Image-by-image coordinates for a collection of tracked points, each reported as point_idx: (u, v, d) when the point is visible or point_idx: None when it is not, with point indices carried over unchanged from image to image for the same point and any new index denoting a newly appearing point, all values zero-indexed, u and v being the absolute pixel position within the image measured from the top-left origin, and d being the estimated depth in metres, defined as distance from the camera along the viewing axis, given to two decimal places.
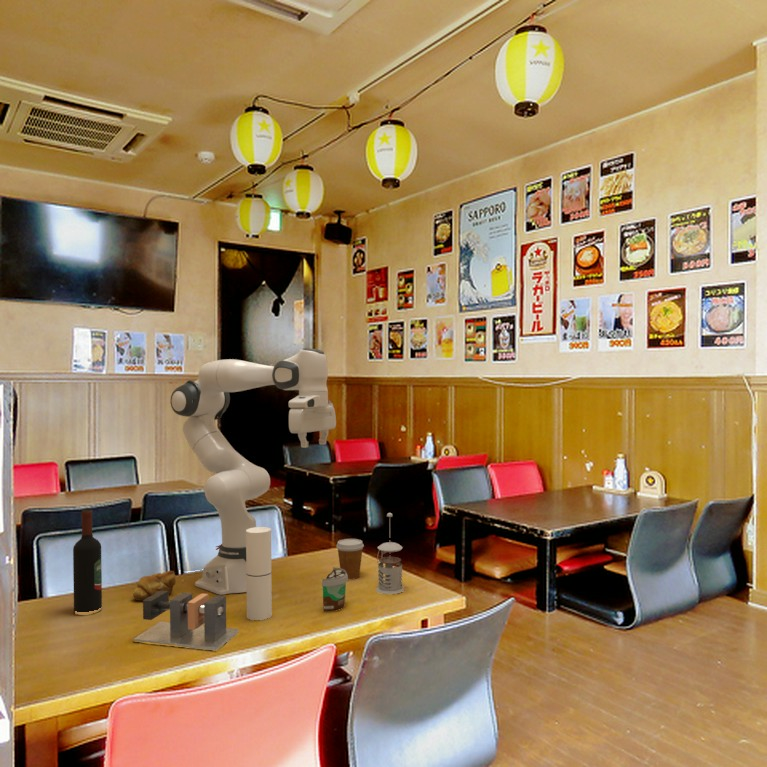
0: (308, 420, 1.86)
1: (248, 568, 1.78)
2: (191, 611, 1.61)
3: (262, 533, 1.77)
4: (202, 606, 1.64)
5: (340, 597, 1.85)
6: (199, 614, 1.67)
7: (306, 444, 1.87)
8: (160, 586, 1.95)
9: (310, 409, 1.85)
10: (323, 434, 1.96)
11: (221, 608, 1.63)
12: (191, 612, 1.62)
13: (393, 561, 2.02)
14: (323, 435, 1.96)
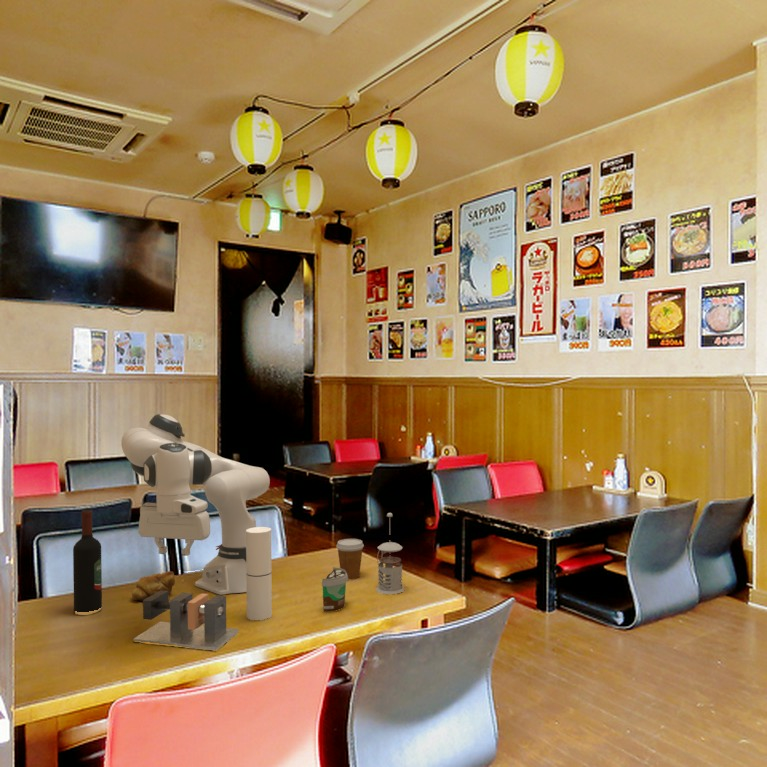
0: None
1: (248, 568, 1.78)
2: (191, 611, 1.61)
3: (262, 533, 1.77)
4: (202, 606, 1.64)
5: (340, 597, 1.85)
6: (199, 614, 1.67)
7: None
8: (159, 586, 1.95)
9: None
10: (159, 542, 1.71)
11: (221, 608, 1.63)
12: (191, 612, 1.62)
13: (393, 561, 2.02)
14: (160, 543, 1.71)
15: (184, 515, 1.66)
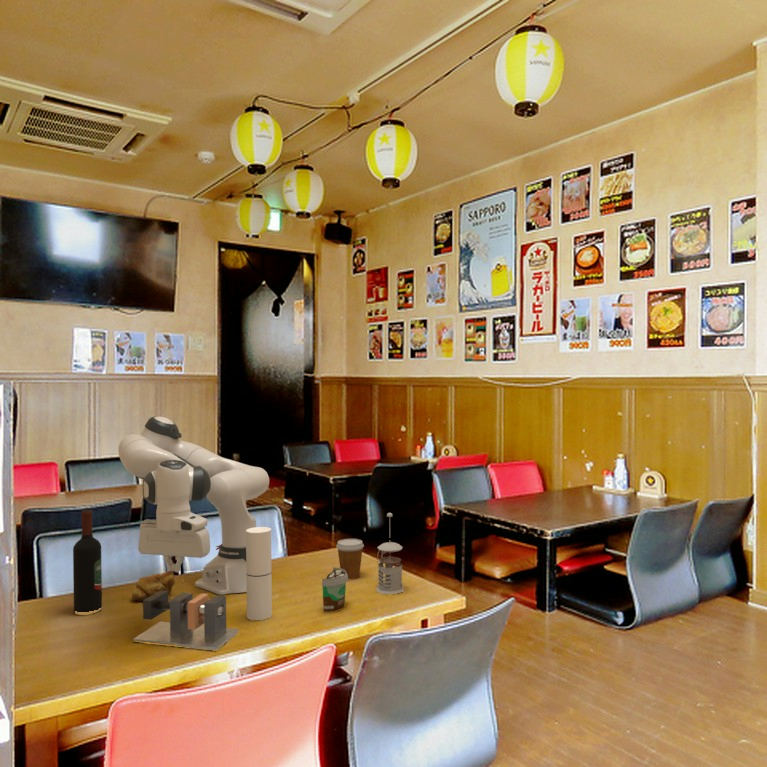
0: None
1: (248, 568, 1.78)
2: (191, 611, 1.61)
3: (262, 533, 1.77)
4: (202, 606, 1.64)
5: (340, 597, 1.85)
6: (199, 614, 1.67)
7: None
8: (159, 586, 1.95)
9: None
10: (168, 560, 1.70)
11: (221, 608, 1.63)
12: (191, 612, 1.62)
13: (393, 561, 2.02)
14: (169, 561, 1.70)
15: (184, 532, 1.66)
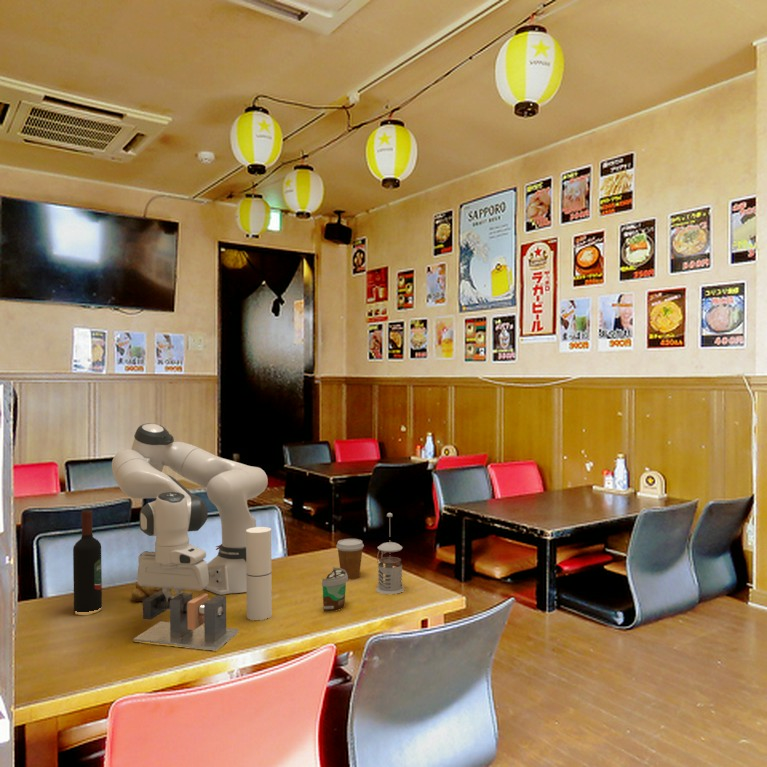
0: None
1: (248, 568, 1.78)
2: (191, 611, 1.61)
3: (262, 533, 1.77)
4: (202, 606, 1.64)
5: (340, 597, 1.85)
6: (199, 614, 1.67)
7: None
8: (158, 587, 1.94)
9: None
10: (167, 592, 1.70)
11: (221, 608, 1.63)
12: (190, 612, 1.62)
13: (393, 561, 2.02)
14: (168, 593, 1.70)
15: (182, 565, 1.66)
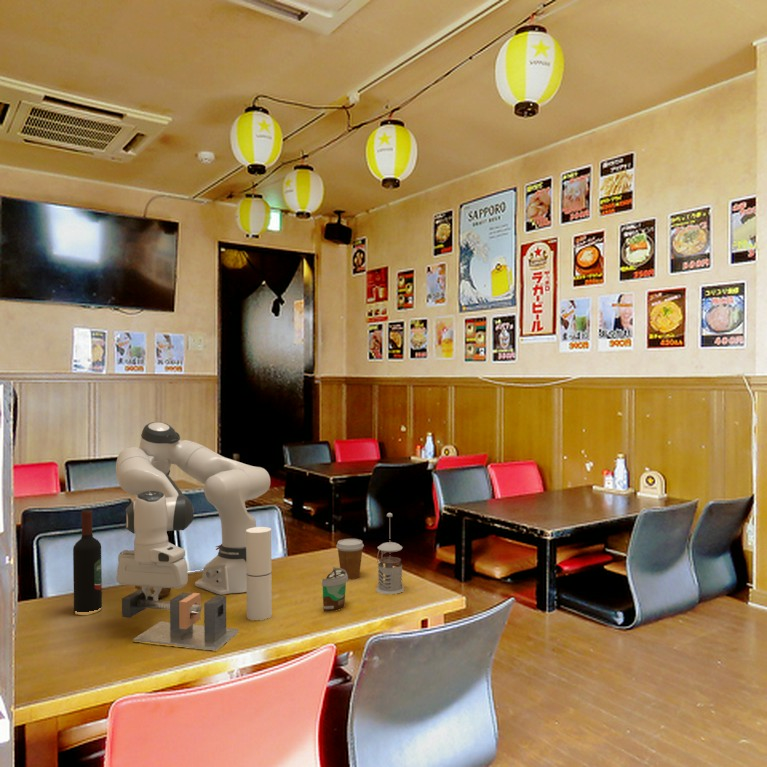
0: None
1: (248, 568, 1.78)
2: (183, 611, 1.62)
3: (262, 533, 1.77)
4: None
5: (340, 597, 1.85)
6: (191, 613, 1.67)
7: None
8: None
9: None
10: (147, 590, 1.72)
11: (199, 606, 1.65)
12: (182, 611, 1.62)
13: (393, 561, 2.02)
14: (147, 591, 1.72)
15: (161, 564, 1.68)
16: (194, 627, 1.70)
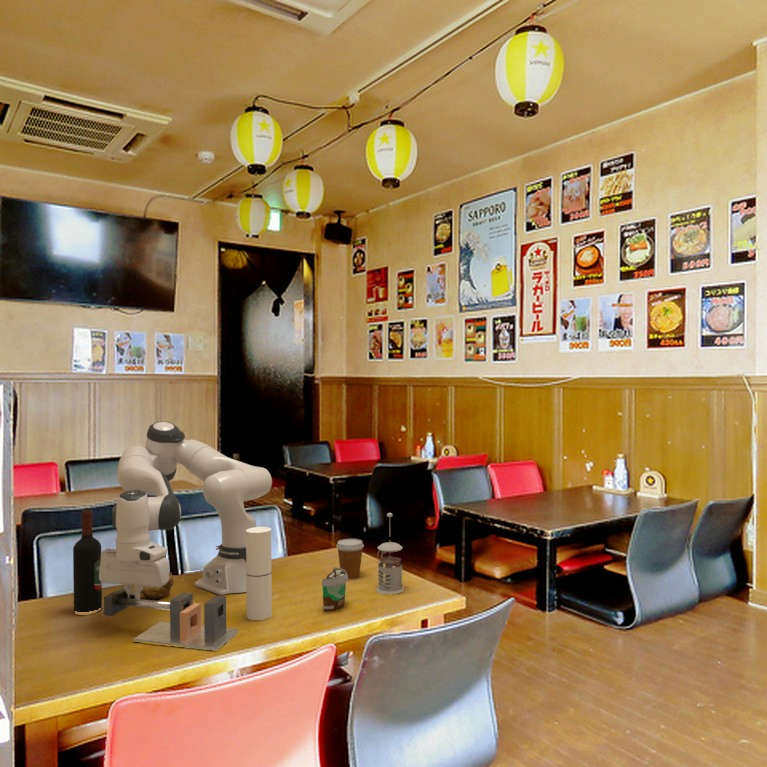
0: None
1: (248, 568, 1.78)
2: (183, 621, 1.62)
3: (262, 533, 1.77)
4: (162, 602, 1.67)
5: (340, 597, 1.85)
6: (191, 624, 1.67)
7: None
8: (157, 587, 1.94)
9: None
10: (129, 588, 1.73)
11: None
12: (183, 622, 1.62)
13: (393, 561, 2.02)
14: (129, 589, 1.73)
15: (143, 562, 1.69)
16: None
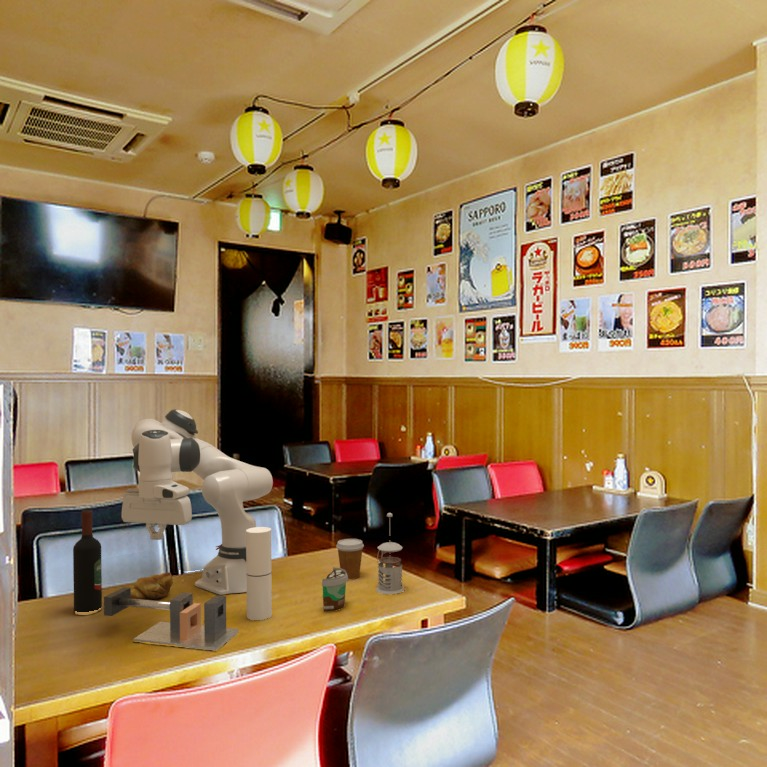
0: None
1: (248, 568, 1.78)
2: (183, 621, 1.62)
3: (262, 533, 1.77)
4: (162, 602, 1.67)
5: (340, 597, 1.85)
6: (191, 624, 1.67)
7: None
8: (156, 587, 1.94)
9: None
10: (151, 528, 1.73)
11: None
12: (183, 622, 1.62)
13: (393, 561, 2.02)
14: (151, 529, 1.73)
15: (165, 500, 1.68)
16: None
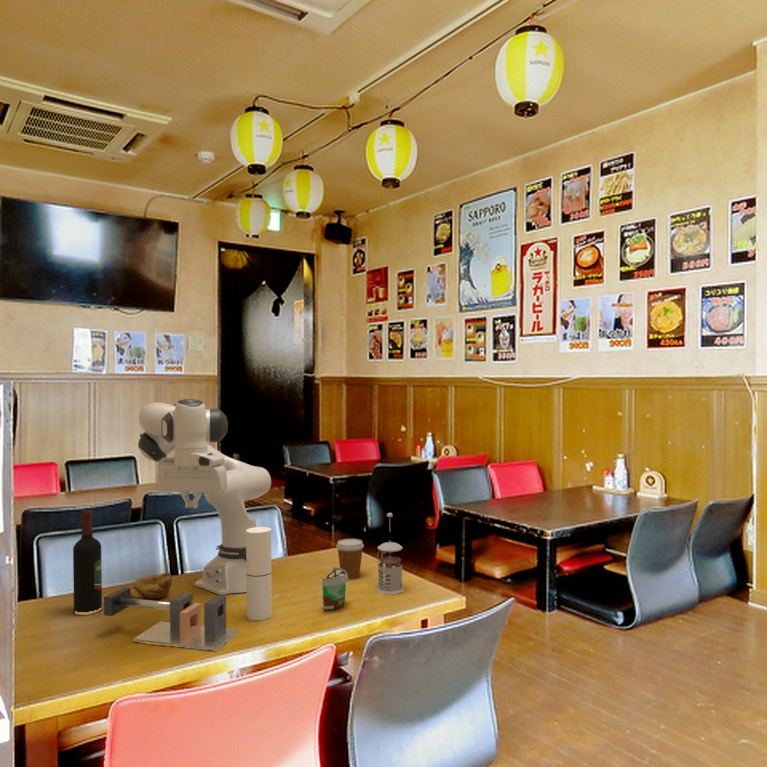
0: None
1: (248, 568, 1.78)
2: (183, 621, 1.62)
3: (262, 533, 1.77)
4: (162, 602, 1.67)
5: (340, 597, 1.85)
6: (191, 624, 1.67)
7: None
8: (155, 588, 1.93)
9: None
10: (186, 496, 1.73)
11: None
12: (183, 622, 1.62)
13: (393, 561, 2.02)
14: (187, 497, 1.73)
15: (202, 468, 1.69)
16: None
